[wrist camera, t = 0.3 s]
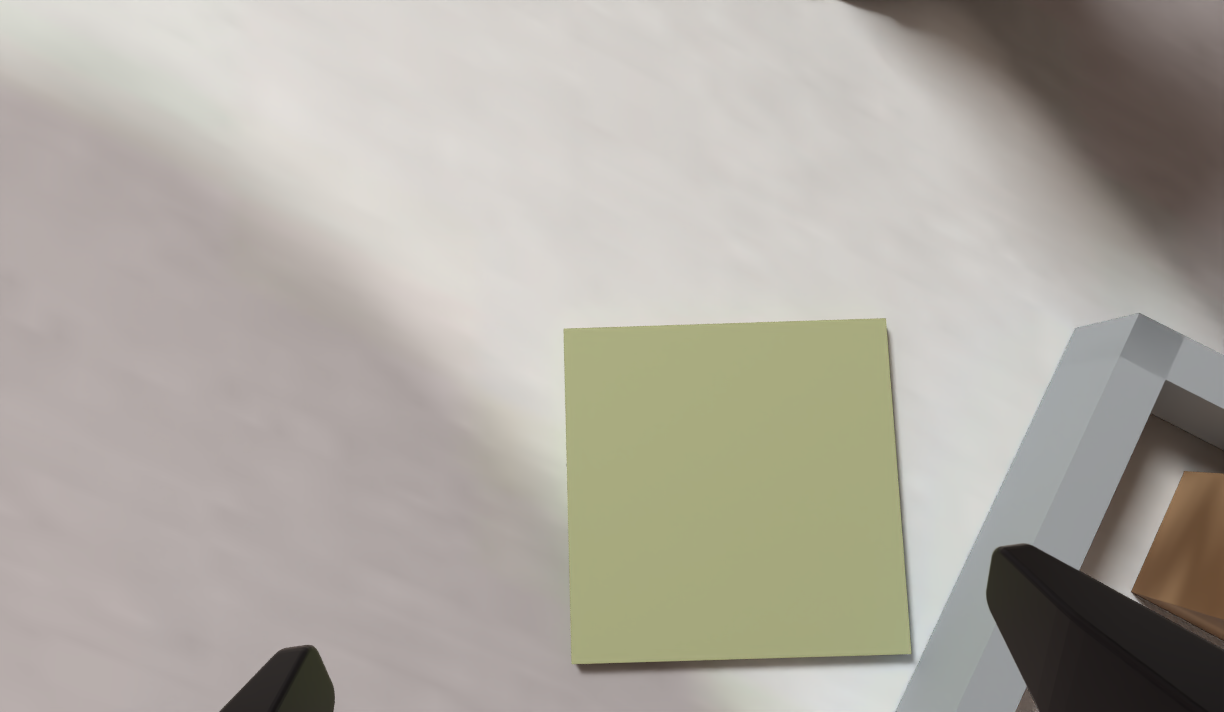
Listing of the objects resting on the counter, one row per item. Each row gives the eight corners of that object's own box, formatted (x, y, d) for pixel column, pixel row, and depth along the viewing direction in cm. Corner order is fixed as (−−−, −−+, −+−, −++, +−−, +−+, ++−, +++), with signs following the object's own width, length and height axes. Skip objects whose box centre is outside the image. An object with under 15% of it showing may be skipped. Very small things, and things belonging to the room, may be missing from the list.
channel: (1284, 1061, 22) (1389, 1160, 19) (847, 814, 23) (881, 871, 20) (1489, 537, 24) (1616, 552, 21) (1075, 328, 24) (1139, 312, 21)
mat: (904, 649, 23) (911, 654, 23) (572, 659, 23) (571, 664, 23) (880, 320, 25) (885, 318, 24) (564, 330, 25) (563, 328, 24)
